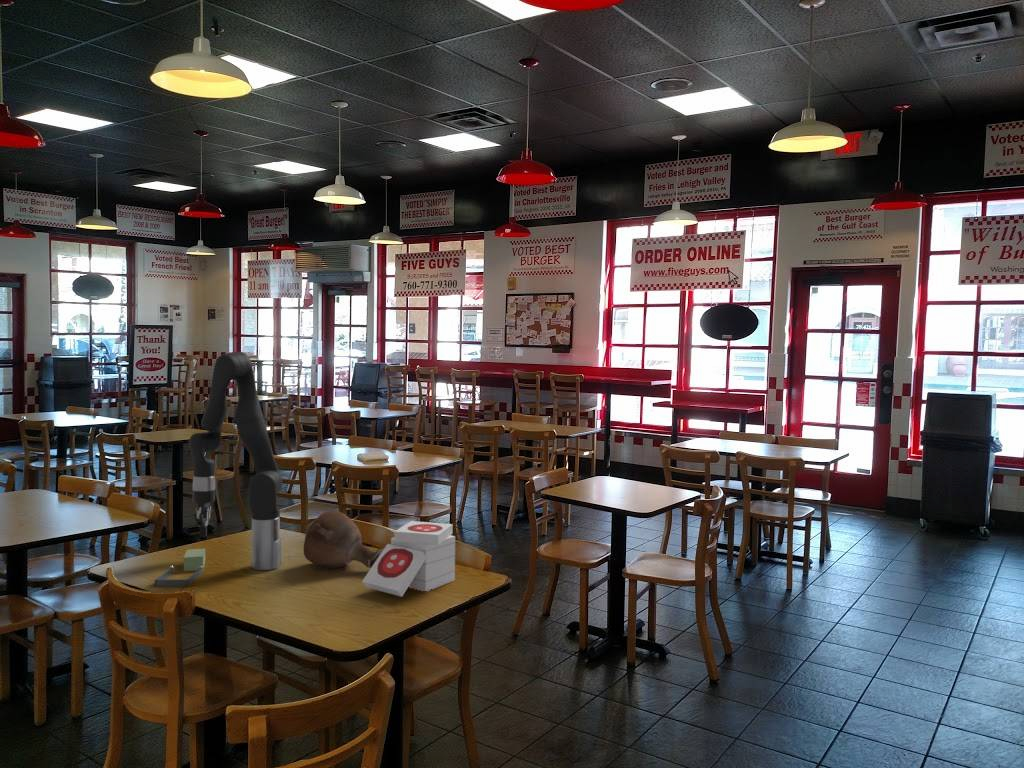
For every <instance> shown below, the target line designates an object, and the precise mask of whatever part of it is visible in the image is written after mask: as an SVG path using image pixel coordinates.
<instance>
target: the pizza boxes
mask: <svg viewBox="0 0 1024 768" xmlns="http://www.w3.org/2000/svg"><path fill="white" fill-rule="evenodd" d="M453 526H454V525H453V523H452V524H451V523H443V522H441V523H439V522H430V521H429V522H428V521H418V520H417V521H415V520H414V521H413V520H411V521H409V522H407V523H405V524H404V525H402V526H400V527H399V528H398V529H396V530H394V532H393V533H394V535H393V536H394V537H391V538H390V543H387V544H386V546H385V547H384V548H383V549H384V550H383V551H382V553H381V554H380V556H379V557H378V559H377V560H376V562H375V563H374V565H373V566H372V568H369V571H368V572H367V574H365V576H364V578H363V579H362V581H361V582H362V584H363V585H364V586H365V587H366V588H367V589H371V590H376V591H379V592H383V593H387V594H390V595H394V596H397V597H403V596H404V595H405V592H406V591H407V590H408V589H412V588H414V589H413V590H416V589H417V590H416V591H420V590H421V591H420V592H423V591H427V592H429V591H432V590H435V589H436V588H439V587H441V586H442V587H443V585H447V584H449V583H452V582H454V581H455V580H456V577H455V575H456V574H455V573H456V536H455V535H453ZM408 587H409V588H408ZM431 589H432V590H431Z"/></svg>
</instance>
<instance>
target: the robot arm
mask: <svg viewBox="0 0 1024 768" xmlns="http://www.w3.org/2000/svg"><path fill="white" fill-rule="evenodd" d="M253 368H254V367H253V363H252V361H251V359H250V356H249V355H248V354H247V353H246V352H244V351H235V352H234V351H233V352H229V353H223V354H220V355H219V356H218V357H217V358H216V360H215V363H214V367H213V371H212V372H213V373H212V379H211V383H210V389H209V390H210V391H209V397H208V400H207V404H206V408H205V410H204V412H203V416H202V418H201V422H200V425H201V428H203V430H205V431H206V432H195V433H193V434H192V435H191V436H190V438H189V439H188V448H189V451H190V454H191V458H192V459H191V460H192V462H193V463H192V464H193V477H192V478H193V480H192V498H191V499H192V500H191V501H192V502H193V503H194V504H195V503H196V504H197V505H196V509H195V511H196V512H195V513H194V515H193V516H194V517H193V518H194V519H195V523H196V526H197V527H198V528H199V531H198V533H199V535H198V536H199V537H200V538H205V537H207V536H208V525H209V523H210V522H211V516H212V513H213V507H212V506H211V503H213V502H215V500H216V476H215V474H216V462H215V460H214V459H212V458H208V457H207V458H206V457H205V453H210V452H216V451H217V450H218V449H219V448H220V446H221V445H222V433H223V432H222V430H223V428H222V427H223V425H224V421H225V419H226V416H227V412H228V400H227V395H226V394H227V390H228V388H229V385H230V383H231V382H232V381H235V382H236V386H237V391H238V399H237V400H238V401H237V403H236V404H237V405H236V409H235V413H234V414H235V416H234V421H235V425H236V429H237V432H238V436H239V439H240V441H241V443H242V445H243V446H244V447H245V449H246V450H247V452H248V454H249V455H250V457H251V459H252V463H253V466H254V471H255V474H254V476H252V477H251V480H250V481H249V486H248V499H249V501H248V503H249V511H250V514H251V569H253V570H257V571H268V570H276V569H278V568H279V567H280V566H281V565H282V537H281V536H280V535H281V534H280V533H281V530H280V529H281V528H280V527H281V526H280V523H281V521H280V518H281V512H280V508H279V507H278V506H277V505H278V504H277V494H278V493H279V492H280V491H281V490H282V488H283V478H282V475H281V472H280V470H279V468H278V464H277V462H276V459H275V457H274V454H273V450H272V445H271V442H270V441H271V440H270V437H269V433H268V430H267V426H266V422H265V417H264V415H263V411H262V407H261V403H260V400H259V396H258V391H257V386H256V380H255V374H254V369H253Z"/></svg>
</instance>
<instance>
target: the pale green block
mask: <svg viewBox="0 0 1024 768" xmlns="http://www.w3.org/2000/svg"><path fill="white" fill-rule="evenodd" d="M205 565H206V548H195V549H194V548H192V549H186V551H185V554H184V556H183V572H185V573H186V572H196V571H197V570H198V569H199V566H202V567H203V570H204V568H205Z"/></svg>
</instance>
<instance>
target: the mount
mask: <svg viewBox="0 0 1024 768" xmlns="http://www.w3.org/2000/svg"><path fill="white" fill-rule="evenodd" d="M203 571H204V569H203V567H202V566H199V569H198V570H197V571H194V572H193V573H192V574H191V575H190V576H189V577H187V578H185V579H179V578H177V579H176V578H175V579H174V578H173V579H171V578H170V579H169V577H171V576H172V575H173V574H174V566H173V565H169V568H168V569H167V570H166V571H164V572H163V573H162V574H161V575H159V576H158V577H156V578H155V579H154V586H155V587H189V586H188V585H189V584H190V585H191V584H192V583H194V582H195V580H197V578H199V577H200V576H201V575H202V574H203Z"/></svg>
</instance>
